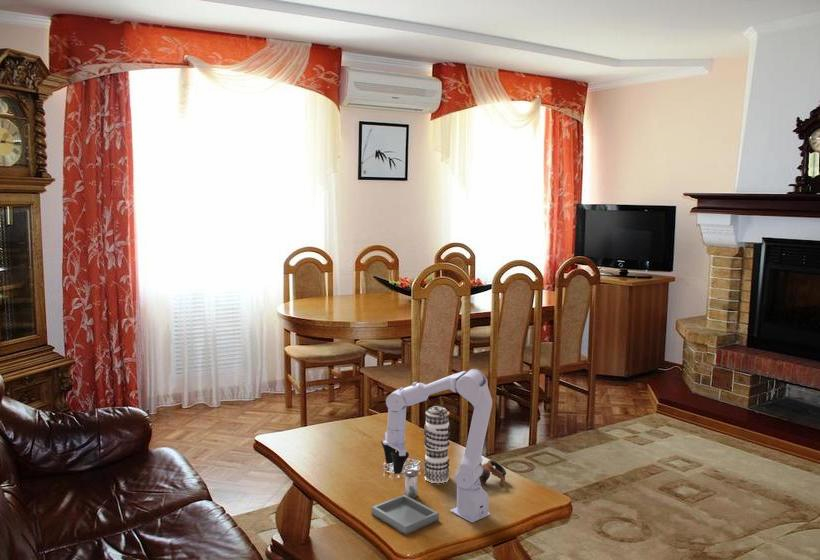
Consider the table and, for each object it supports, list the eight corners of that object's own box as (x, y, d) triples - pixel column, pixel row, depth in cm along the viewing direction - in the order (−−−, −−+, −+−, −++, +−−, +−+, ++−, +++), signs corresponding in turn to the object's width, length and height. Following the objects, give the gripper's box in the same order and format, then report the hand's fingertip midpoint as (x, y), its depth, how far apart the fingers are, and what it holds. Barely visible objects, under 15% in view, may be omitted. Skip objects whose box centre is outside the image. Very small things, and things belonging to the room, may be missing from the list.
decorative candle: (452, 474, 234) (453, 405, 231) (446, 486, 225) (447, 413, 222) (427, 471, 236) (427, 402, 233) (420, 482, 228) (420, 411, 224)
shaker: (420, 496, 218) (420, 472, 217) (410, 499, 215) (410, 475, 214) (411, 491, 221) (411, 468, 220) (402, 495, 218) (402, 471, 217)
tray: (438, 520, 202) (438, 512, 201) (405, 535, 193) (405, 526, 193) (404, 501, 214) (404, 494, 213) (371, 514, 205) (371, 506, 205)
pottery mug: (479, 475, 235) (492, 456, 234) (500, 493, 230) (513, 474, 229) (464, 479, 225) (477, 459, 223) (485, 498, 220) (499, 478, 219)
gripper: (376, 420, 218) (374, 459, 221) (391, 437, 205) (389, 479, 207) (397, 418, 221) (394, 457, 223) (413, 435, 208) (410, 477, 210)
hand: (393, 468), depth 215 cm, fingers open, 7 cm apart
